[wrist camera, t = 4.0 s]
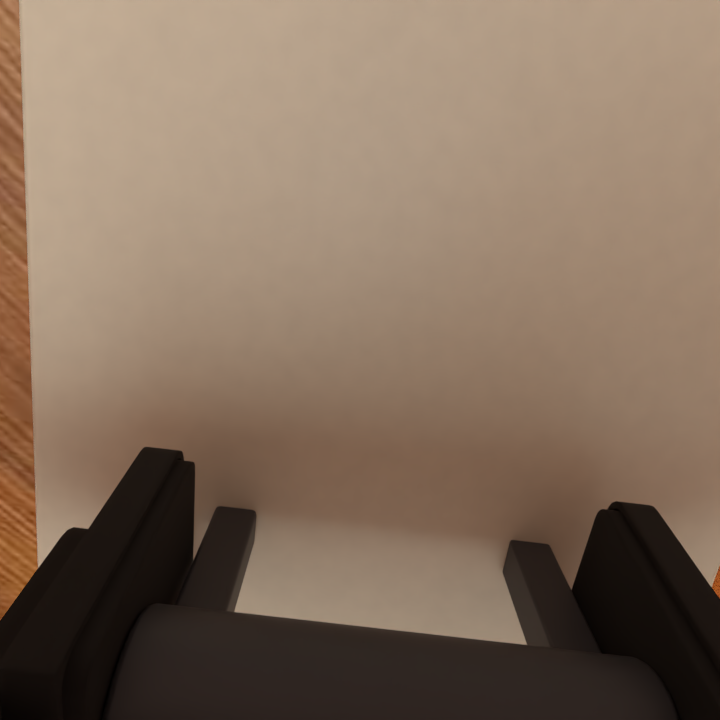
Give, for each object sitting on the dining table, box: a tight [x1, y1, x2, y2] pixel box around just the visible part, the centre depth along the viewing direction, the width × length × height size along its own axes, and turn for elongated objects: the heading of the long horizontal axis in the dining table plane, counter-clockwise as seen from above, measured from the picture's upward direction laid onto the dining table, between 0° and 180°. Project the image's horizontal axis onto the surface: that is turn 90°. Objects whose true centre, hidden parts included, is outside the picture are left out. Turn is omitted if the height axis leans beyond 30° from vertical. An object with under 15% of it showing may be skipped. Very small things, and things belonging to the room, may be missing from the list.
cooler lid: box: [19, 0, 720, 720], centre depth 8 cm, size 13×12×5 cm
